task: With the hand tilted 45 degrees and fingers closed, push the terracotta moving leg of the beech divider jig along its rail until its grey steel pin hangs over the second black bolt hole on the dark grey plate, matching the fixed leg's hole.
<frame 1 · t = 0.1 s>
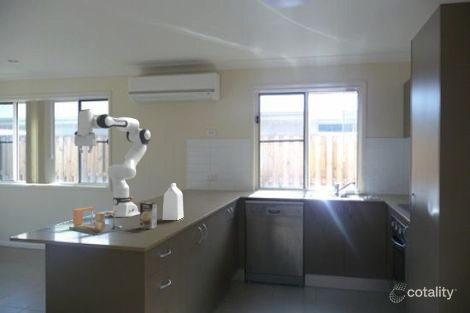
hand: (85, 152, 240), 48 cm above the counter, tool pointing down, fingers open, 8 cm apart
moving leg: (84, 216, 223), point 7 cm above the counter, slide at 0.0 cm
fixed leg: (88, 231, 214), resting on hole plate
milk: (173, 219, 254), on the counter
coffee box: (148, 227, 225), on the counter
hole plate: (97, 229, 219), on the counter
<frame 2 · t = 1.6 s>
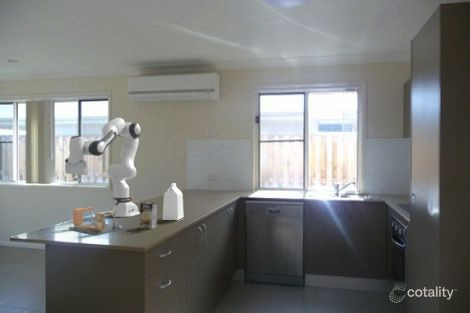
hand: (76, 181, 230), 29 cm above the counter, tool pointing down, fingers closed
nothing on the counter moved.
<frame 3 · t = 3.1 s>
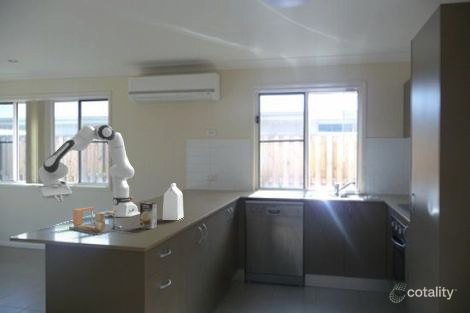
hand: (60, 201, 230), 16 cm above the counter, tool tilted 45°, fingers closed
nothing on the counter moved.
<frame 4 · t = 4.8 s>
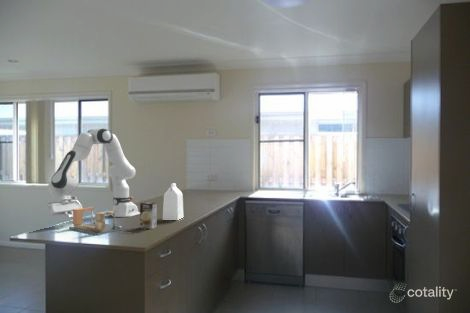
hand: (71, 217, 223), 6 cm above the counter, tool tilted 45°, fingers closed
nothing on the counter moved.
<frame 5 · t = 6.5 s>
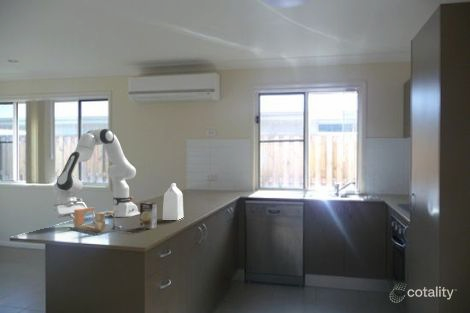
hand: (76, 220, 220), 5 cm above the counter, tool tilted 45°, fingers closed, pressing on moving leg
moving leg: (85, 216, 223), point 7 cm above the counter, slide at 1.3 cm, touching gripper
everything else where it was.
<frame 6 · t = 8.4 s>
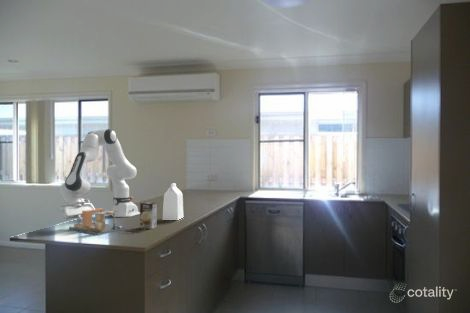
hand: (84, 221, 216), 5 cm above the counter, tool tilted 45°, fingers closed, pressing on moving leg
moving leg: (93, 217, 218), point 7 cm above the counter, slide at 9.5 cm, touching gripper
everything else where it was.
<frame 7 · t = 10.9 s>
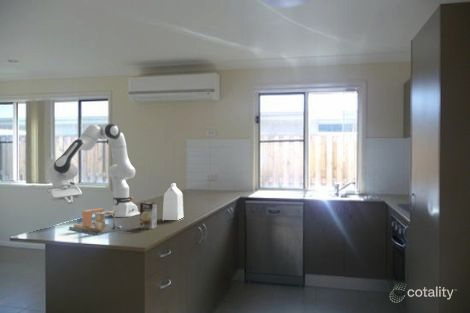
hand: (70, 203, 224), 16 cm above the counter, tool tilted 45°, fingers closed
moving leg: (93, 217, 218), point 7 cm above the counter, slide at 9.5 cm
everything else where it was.
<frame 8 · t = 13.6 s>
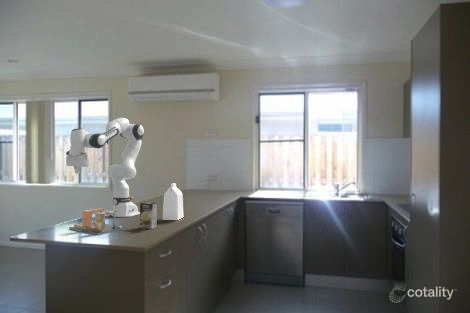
hand: (77, 173, 233), 34 cm above the counter, tool pointing down, fingers closed
nothing on the counter moved.
at the end: moving leg slide at 9.5 cm; moving leg 0.5 cm from the target spot, resting on fixed leg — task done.
